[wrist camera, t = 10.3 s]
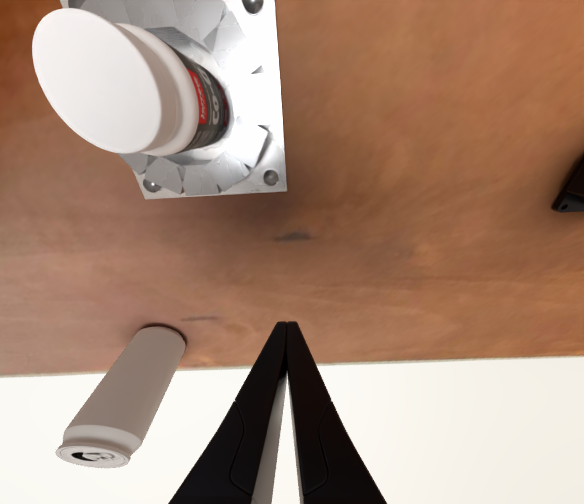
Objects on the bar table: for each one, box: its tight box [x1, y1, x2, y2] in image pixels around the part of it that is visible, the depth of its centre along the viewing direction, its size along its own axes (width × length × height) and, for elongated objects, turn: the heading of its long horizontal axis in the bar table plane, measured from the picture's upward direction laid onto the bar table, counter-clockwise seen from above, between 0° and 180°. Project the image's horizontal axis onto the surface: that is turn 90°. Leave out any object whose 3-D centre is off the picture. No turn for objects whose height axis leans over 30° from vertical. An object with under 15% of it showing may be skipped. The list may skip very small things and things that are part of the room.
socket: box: [60, 0, 287, 199], centre depth 14 cm, size 12×12×3 cm
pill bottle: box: [32, 8, 229, 156], centre depth 11 cm, size 5×5×8 cm
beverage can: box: [56, 326, 186, 468], centre depth 23 cm, size 6×6×12 cm
